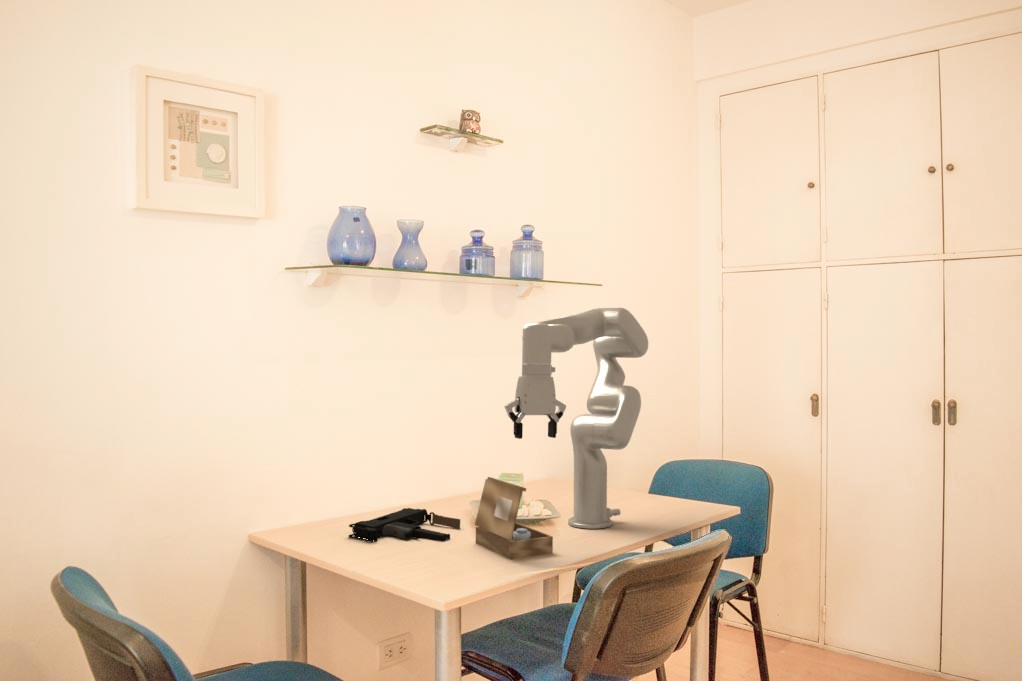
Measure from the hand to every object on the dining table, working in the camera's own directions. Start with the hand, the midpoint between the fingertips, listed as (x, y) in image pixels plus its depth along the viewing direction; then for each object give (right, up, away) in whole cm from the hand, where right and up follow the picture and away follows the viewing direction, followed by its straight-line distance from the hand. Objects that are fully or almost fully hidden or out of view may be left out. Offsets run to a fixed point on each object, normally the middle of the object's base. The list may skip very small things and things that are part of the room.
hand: (535, 437), depth 202 cm
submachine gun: (-32, -28, +12) cm, 45 cm away
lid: (-8, -17, -6) cm, 20 cm away
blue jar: (-4, -27, -4) cm, 28 cm away
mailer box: (-6, -28, -5) cm, 29 cm away
